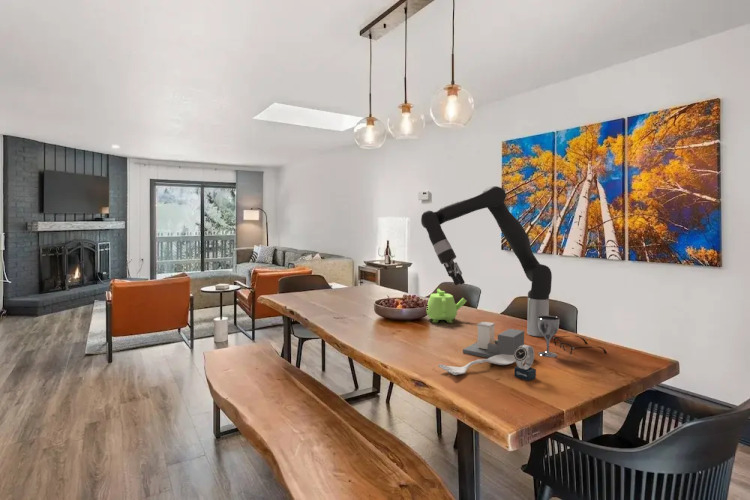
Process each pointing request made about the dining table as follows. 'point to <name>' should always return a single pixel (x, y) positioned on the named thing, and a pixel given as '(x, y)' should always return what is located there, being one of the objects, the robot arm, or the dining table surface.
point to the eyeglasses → (571, 346)
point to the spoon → (496, 359)
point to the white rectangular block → (485, 334)
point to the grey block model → (499, 344)
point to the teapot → (443, 306)
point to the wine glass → (548, 331)
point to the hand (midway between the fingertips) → (460, 284)
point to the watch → (520, 358)
